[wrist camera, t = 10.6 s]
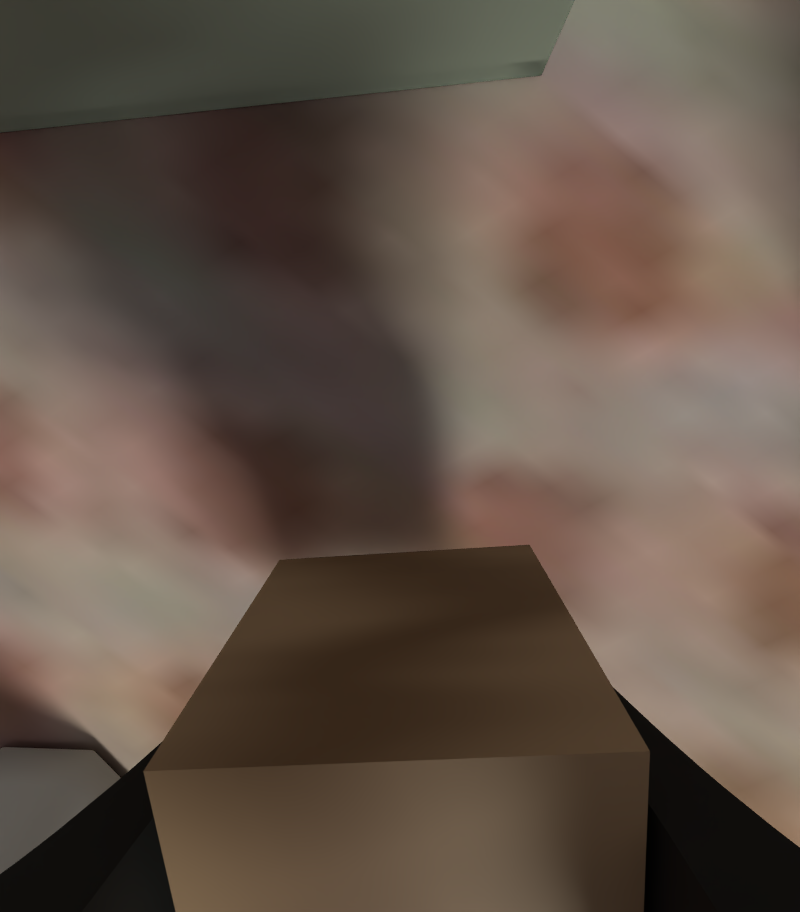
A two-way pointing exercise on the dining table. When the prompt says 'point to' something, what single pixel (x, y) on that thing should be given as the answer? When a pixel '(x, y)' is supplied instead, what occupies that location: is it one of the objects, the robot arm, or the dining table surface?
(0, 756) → the flask
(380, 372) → the dining table surface
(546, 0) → the tote
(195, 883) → the walnut cube
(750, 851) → the robot arm
